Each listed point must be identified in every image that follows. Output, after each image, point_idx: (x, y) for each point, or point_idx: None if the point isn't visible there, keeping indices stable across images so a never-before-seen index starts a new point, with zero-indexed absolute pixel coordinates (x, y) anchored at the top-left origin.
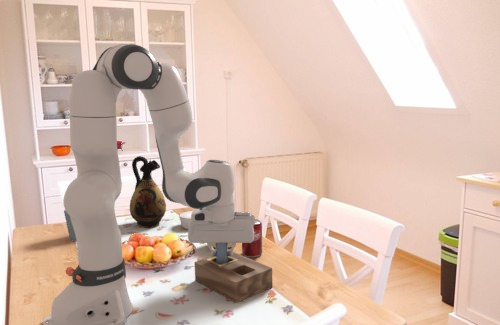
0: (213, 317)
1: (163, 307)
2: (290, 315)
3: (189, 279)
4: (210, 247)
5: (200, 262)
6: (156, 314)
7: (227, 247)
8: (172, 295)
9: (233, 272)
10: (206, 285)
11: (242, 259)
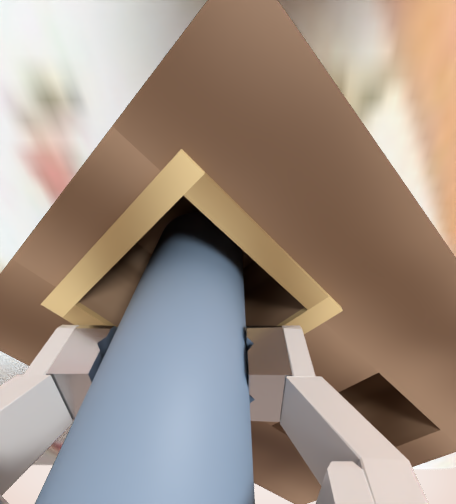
0: None
1: None
2: (446, 455)
3: (9, 234)
4: (13, 480)
5: (15, 335)
6: (48, 448)
7: (250, 442)
8: (26, 369)
9: (292, 447)
10: None
11: (385, 288)
